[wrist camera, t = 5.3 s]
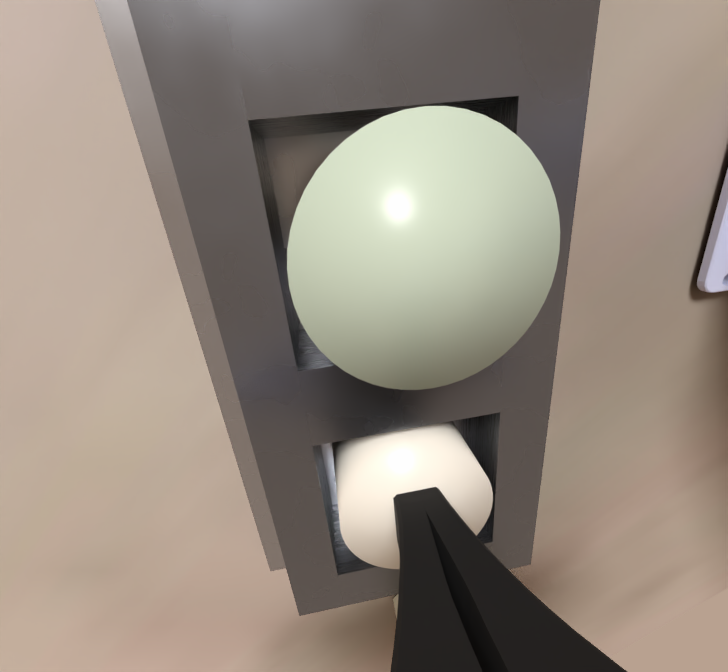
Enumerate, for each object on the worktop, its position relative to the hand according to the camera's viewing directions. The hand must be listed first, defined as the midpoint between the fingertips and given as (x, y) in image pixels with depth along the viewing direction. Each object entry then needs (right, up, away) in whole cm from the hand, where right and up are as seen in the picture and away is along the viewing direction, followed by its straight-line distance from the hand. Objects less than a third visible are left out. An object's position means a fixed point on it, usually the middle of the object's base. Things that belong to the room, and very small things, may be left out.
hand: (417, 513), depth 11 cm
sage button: (-1, +8, -2) cm, 8 cm away
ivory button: (0, +1, +3) cm, 3 cm away
